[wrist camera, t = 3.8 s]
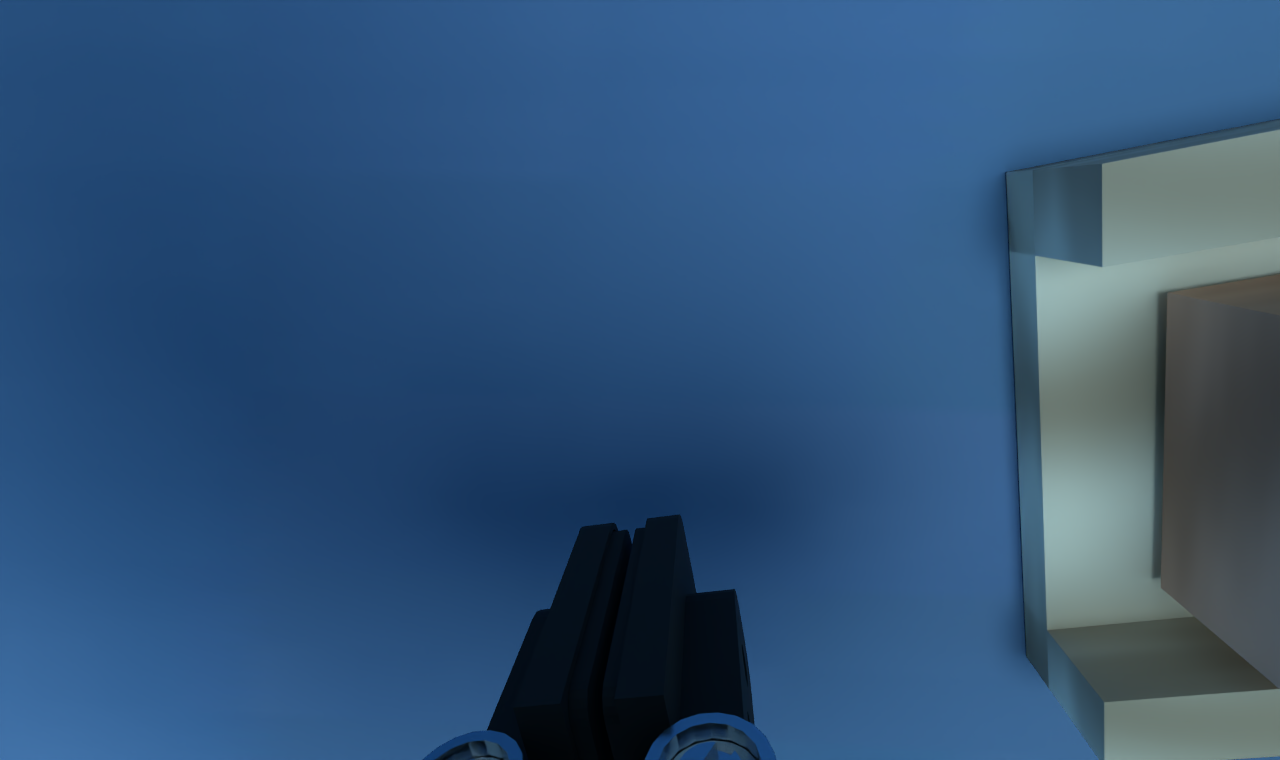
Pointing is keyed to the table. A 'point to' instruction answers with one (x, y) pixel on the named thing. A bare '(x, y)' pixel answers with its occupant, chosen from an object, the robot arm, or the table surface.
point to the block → (1225, 464)
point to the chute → (1127, 432)
